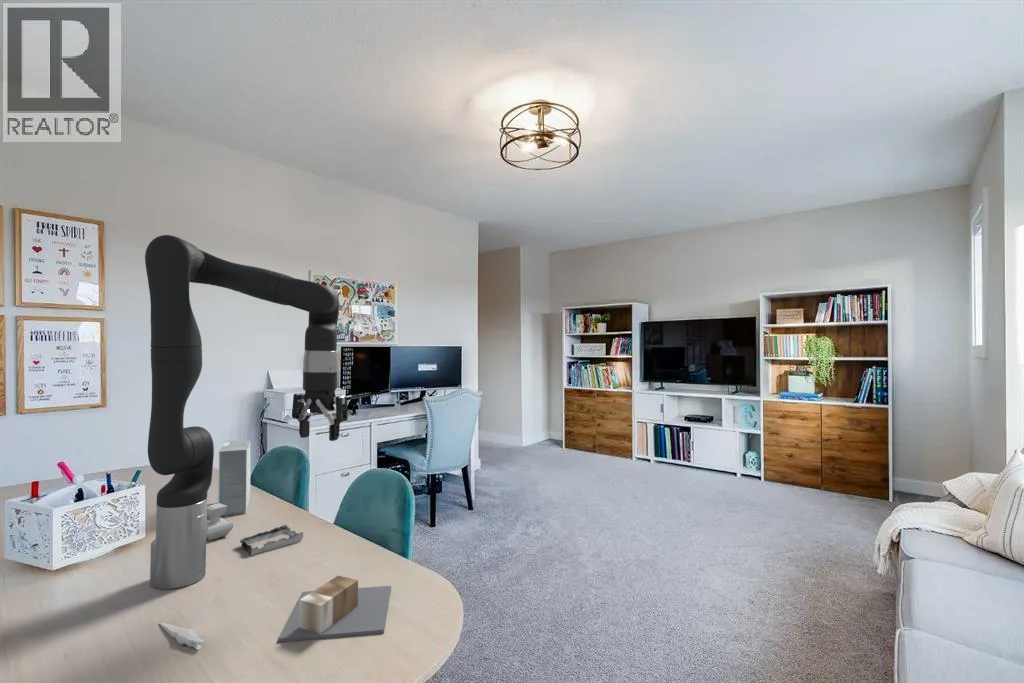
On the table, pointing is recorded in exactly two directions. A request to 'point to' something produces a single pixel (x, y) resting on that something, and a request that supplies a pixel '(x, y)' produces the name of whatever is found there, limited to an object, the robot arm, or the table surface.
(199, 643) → the white tapered spike part
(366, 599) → the charcoal mat
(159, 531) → the robot arm
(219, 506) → the stamp
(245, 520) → the table surface
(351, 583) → the cream and brown block
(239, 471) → the hard drive box
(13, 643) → the table surface
